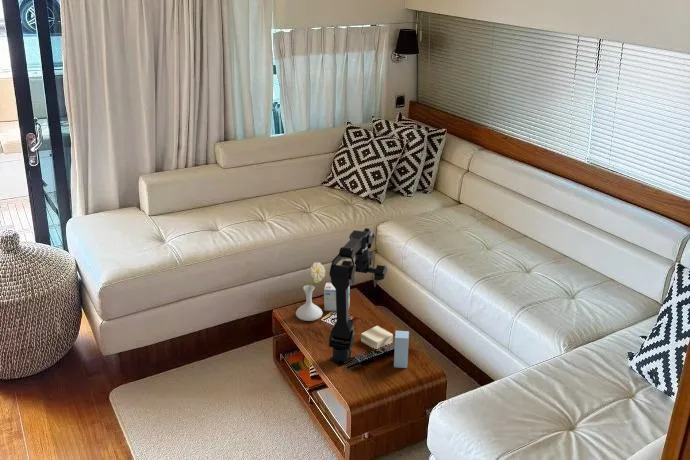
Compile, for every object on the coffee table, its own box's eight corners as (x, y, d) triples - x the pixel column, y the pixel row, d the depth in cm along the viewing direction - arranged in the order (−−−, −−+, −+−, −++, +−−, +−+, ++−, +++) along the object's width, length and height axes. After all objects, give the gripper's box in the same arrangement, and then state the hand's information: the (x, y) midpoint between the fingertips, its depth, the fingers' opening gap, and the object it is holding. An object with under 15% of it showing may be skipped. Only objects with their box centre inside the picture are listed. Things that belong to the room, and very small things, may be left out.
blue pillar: (393, 367, 255) (394, 337, 250) (394, 359, 260) (395, 330, 255) (407, 368, 255) (408, 338, 250) (407, 360, 259) (409, 331, 254)
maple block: (376, 351, 266) (377, 342, 264) (361, 342, 272) (361, 333, 270) (392, 342, 271) (393, 334, 270) (376, 333, 277) (377, 325, 276)
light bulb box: (349, 304, 299) (350, 282, 295) (348, 312, 293) (348, 290, 288) (325, 303, 300) (325, 281, 295) (323, 311, 294) (323, 289, 289)
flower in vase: (302, 325, 282) (301, 272, 272) (291, 313, 291) (290, 261, 282) (330, 318, 288) (330, 265, 278) (319, 306, 297) (318, 255, 287)
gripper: (389, 246, 275) (390, 274, 285) (345, 240, 280) (348, 268, 290) (382, 264, 267) (384, 292, 277) (337, 258, 272) (340, 286, 282)
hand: (364, 284), depth 282 cm, fingers open, 9 cm apart
